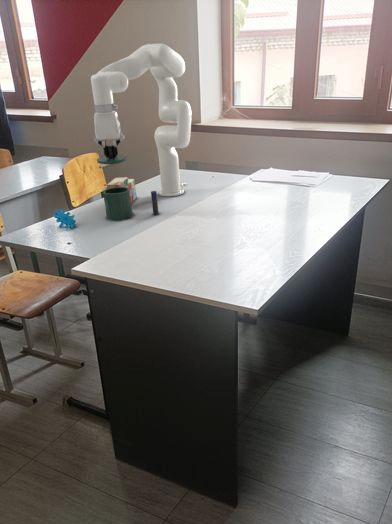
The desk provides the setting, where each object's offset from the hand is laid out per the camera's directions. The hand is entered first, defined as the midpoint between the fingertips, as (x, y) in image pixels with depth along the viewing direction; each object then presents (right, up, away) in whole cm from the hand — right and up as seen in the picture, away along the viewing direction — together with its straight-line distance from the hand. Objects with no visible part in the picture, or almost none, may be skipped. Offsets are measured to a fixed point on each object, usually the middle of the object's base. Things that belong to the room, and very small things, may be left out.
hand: (111, 156), depth 212 cm
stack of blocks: (+1, -11, +31) cm, 33 cm away
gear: (-20, -28, +7) cm, 35 cm away
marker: (+18, -20, +15) cm, 31 cm away
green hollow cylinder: (+1, -21, +15) cm, 26 cm away
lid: (0, -1, +1) cm, 2 cm away
